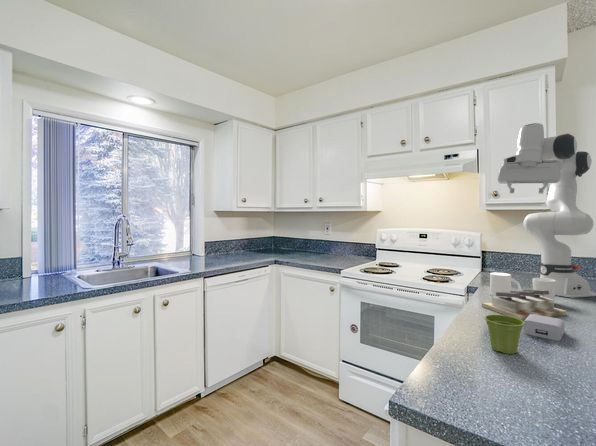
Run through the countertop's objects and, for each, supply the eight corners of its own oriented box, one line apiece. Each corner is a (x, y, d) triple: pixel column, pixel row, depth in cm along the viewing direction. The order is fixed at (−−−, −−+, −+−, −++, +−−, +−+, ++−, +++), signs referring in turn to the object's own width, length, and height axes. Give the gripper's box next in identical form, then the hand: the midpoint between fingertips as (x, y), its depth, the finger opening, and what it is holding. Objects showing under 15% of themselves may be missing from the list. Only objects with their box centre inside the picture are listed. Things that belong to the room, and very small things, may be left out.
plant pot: (477, 342, 92) (477, 314, 92) (509, 342, 92) (509, 314, 92) (497, 357, 83) (497, 325, 83) (532, 357, 82) (533, 325, 82)
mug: (491, 271, 149) (521, 274, 142) (491, 292, 150) (521, 296, 142) (489, 274, 143) (520, 277, 135) (489, 296, 143) (520, 300, 136)
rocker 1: (502, 295, 124) (501, 291, 124) (520, 296, 116) (520, 292, 117) (496, 295, 123) (495, 292, 124) (514, 297, 116) (513, 293, 116)
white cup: (560, 305, 128) (560, 281, 128) (538, 304, 129) (538, 281, 129) (548, 300, 136) (548, 277, 135) (528, 299, 137) (528, 277, 137)
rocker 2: (516, 294, 126) (515, 290, 126) (535, 295, 118) (534, 291, 118) (510, 294, 125) (509, 290, 125) (529, 296, 117) (528, 292, 118)
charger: (566, 329, 103) (560, 342, 92) (532, 322, 109) (523, 334, 99) (566, 315, 103) (561, 326, 92) (532, 309, 109) (523, 319, 99)
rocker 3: (529, 292, 128) (528, 289, 128) (549, 294, 120) (548, 290, 120) (523, 293, 127) (523, 289, 127) (543, 294, 119) (542, 290, 119)
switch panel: (523, 302, 133) (523, 289, 133) (566, 314, 116) (566, 299, 116) (481, 306, 127) (481, 293, 127) (520, 320, 111) (520, 304, 111)
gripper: (561, 162, 122) (559, 195, 120) (500, 165, 134) (496, 195, 132) (563, 156, 117) (560, 190, 115) (499, 159, 129) (496, 190, 127)
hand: (526, 193), depth 124 cm, fingers open, 8 cm apart
